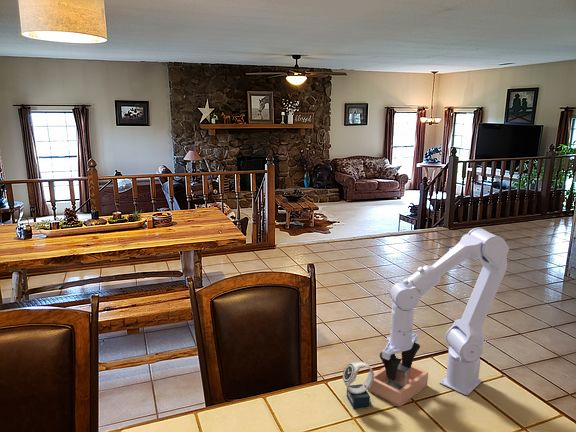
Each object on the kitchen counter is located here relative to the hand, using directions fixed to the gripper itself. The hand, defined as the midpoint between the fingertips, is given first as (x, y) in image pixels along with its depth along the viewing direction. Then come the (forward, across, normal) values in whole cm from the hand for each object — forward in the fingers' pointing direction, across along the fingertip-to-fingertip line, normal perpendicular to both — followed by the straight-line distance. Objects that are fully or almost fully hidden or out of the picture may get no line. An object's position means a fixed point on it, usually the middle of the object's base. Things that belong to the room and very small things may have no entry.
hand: (398, 373), depth 122 cm
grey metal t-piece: (+4, 0, 0) cm, 4 cm away
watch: (+5, +13, -4) cm, 14 cm away
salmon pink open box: (+5, 0, 0) cm, 5 cm away
